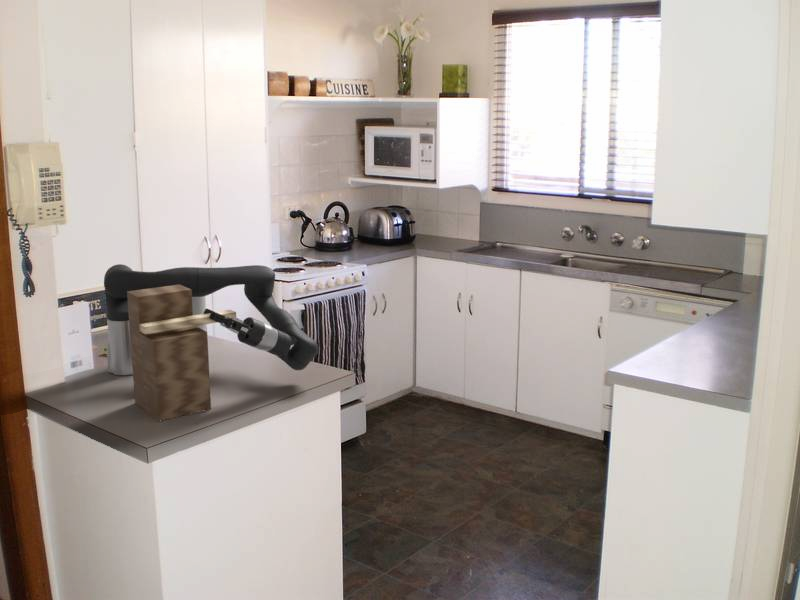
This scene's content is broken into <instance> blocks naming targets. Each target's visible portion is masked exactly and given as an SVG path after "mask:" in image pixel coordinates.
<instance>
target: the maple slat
mask: <svg viewBox="0 0 800 600" xmlns="http://www.w3.org/2000/svg"><path fill="white" fill-rule="evenodd" d="M215 312H216V313H218V314H220V315H223V316H227V317H228V318H231V317H233V318H235V319H236V318H237V312H236V311H235V310H232V309H226V310H220V311H219V310H218V311H215ZM210 314H211V313H207V314H200V315H194V316H187V317H181V318H175V319H169V320H162V321H156V322H150V323H144V324H140V332H142V333H143V334H151V333H157V332H163V331H169V330H175V329H181V328H187V327H193V326H199V325H205V324H207V325H210V324H215V323H217V322H216V321H214V320H211V319H210V318H209V317H210ZM228 320H229V319H228Z"/></svg>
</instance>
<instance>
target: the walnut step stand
mask: <svg viewBox="0 0 800 600" xmlns="http://www.w3.org/2000/svg"><path fill="white" fill-rule="evenodd" d="M127 298H128V312H129V326H130V340H131V354H132V367H133V374H132V379H133V392H134V404H135V405H137V406H138V407H139V408H140V409H142V410H143V411H144V412H146V414H148V415H149V414H150V415H149V416H151V417H152V418H153V419H154V418H155V420H156V421H157V422H161V421H160V420H163V421H165V419H167V420H170V419H169V418H171V419H175V418H174V417H176V418H178V417H177V416H180V417H183V416H182V415H184V416H188V415H187V414H189V415H191V414H190V413H193V414H196V413H195V412H198V411H202V412H204V411H203V410H206V411H210V410H209V409H211V410H212V401H211V400H212V399H211V380H210V378H211V377H210V361H209V342H208V331H207V332H206V331H204V330H202V329H200V328H198V327H196V326H193V327H187V328H181V329H175V330H169V331H163V332H157V333H151V334H143V333H142V332H140V324H144V323H150V322H156V321H162V320H169V319H175V318H181V317H187V316H193V309H192V291H191V289H189V288H187V287H184V286H182V285H180V284H179V285H172V286H164V287H157V288H149V289H142V290H134V291H127ZM198 413H199V412H198Z"/></svg>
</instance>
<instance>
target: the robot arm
mask: <svg viewBox="0 0 800 600" xmlns="http://www.w3.org/2000/svg"><path fill="white" fill-rule="evenodd" d="M275 273H276V272H275V271H274V270H273V269H272V268H271V267H269V266H265V265H262V264H261V265H259V264H257V265H255V264H254V265H243V266H241V265H240V266H231V267H229V266H228V267H194V266H193V267H192V266H188V267H187V266H185V267H175V268H174V267H173V268H169V269H163V270H159V271H158V270H157V271H139V270H133V269H132V268H131V267H129V266H128V265H126V264H114V265H112V266H111V267H109V268H108V269H107V270H106V272H105V274H104V280H103V287H104V293H105V309H106V310H105V311H106V312H105V313H106V321H107V322H106V323H107V333H108V334H107V335H108V341H107V342H106V343H105V345H106V346H105V348H106V349H107V355H106V357H107V358H106V359H107V360H106V361H107V371H108V373H109V374H110V373H111V374H112V373H113V374H112V375H115V376H129V375H131V376H132V375H133V367H132V354H131V340H130V326H129V312H128V298H127V291H134V290H142V289H149V288H157V287H164V286H172V285H179V284H180V285H182V286H184V287H187V288H189V289H191V291H192V297H203V296H205V297H206V296H209V295H211V294H214V293H216V292H217V291H220V290H222V289H224V288H226V287H230V286H237V285H239V286H241V285H244V288H243V292H244V295H245V297H246V298H247V300H248V301H249V302H250V303H251V304H252V306H253V307H255V309H256V310H257V311H258V312H259V313H260V314H261V315H262V316H263V317H264V319H265V320H266V321H267V322H268V323H269V324H267V323H265V322H263V321H260V320H258V319H256V318H255V317H249V316H248V317H246V318H245V319H243V320H242V319H240V318H238V317H236V319H235V318H233V317H231V318H228V317H227V316H223V315H220V314H218V313H216V312H217V311H214V310H211V309H209V308H206V309H205V311H204V313H203V314H207V313H211V314H210V317H209V318H210V319H211V320H214V321H216V323H219V324H220V326H222V327H223V328H226V329H228V330H229V331H230V332H232V333H235V334H237V340H238V341H239V342H240V343H243V344H245V345H247V346H249V347H251V348H254V349H257V350H260V351H264V352H267V353H269V354H271V355H274V356H276V357H277V358H279V359H281V361H283V362H284V364H286V365H287V366H288V367H290V369H292V370H294V371H303V370H304V369H306V368H307V367H308V365H309V364H310V363H311V361H312V360H313V359H314V358H315V357H316V356H317V355H318V353H319V344H318V343H317V342H316V340H314V339H313V338H311V337H310V336H309V335H308V334H307V333H306V332H304V331H303V329H301V327H300V326H299V324H298V323H297V322H296V320H295V318H294V317H293V315H291V313H289V312H288V311H287V310H285V309H283V308H280V307H279V306H278V304H277V302H276V301H275V299H274V295H273V293H274V287H275V281H276V274H275ZM228 319H229V320H228Z"/></svg>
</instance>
